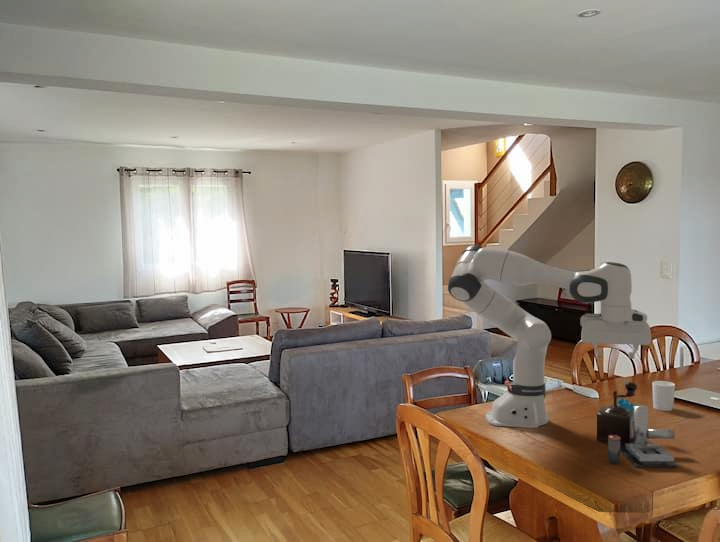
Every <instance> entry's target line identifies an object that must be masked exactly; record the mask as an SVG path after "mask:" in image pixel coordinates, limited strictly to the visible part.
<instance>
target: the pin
mask: <svg viewBox="0 0 720 542" xmlns="http://www.w3.org/2000/svg"><path fill="white" fill-rule="evenodd" d="M607 463H609V464H611V465H619V464H620V463H621V452H620V436H618V435H608V443H607Z"/></svg>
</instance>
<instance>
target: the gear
mask: <svg viewBox="0 0 720 542" xmlns="http://www.w3.org/2000/svg"><path fill="white" fill-rule="evenodd" d="M617 406H621V407H623V408H626V407H627V408H626V409H629V410H633V423H634V404H633V402H630V401H629V400H628V399H627V398H624V397H620V399H619V400H617Z"/></svg>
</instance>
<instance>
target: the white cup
mask: <svg viewBox="0 0 720 542" xmlns="http://www.w3.org/2000/svg"><path fill="white" fill-rule="evenodd" d="M651 384H652V387H651V388H652V403H653V405H652V408H653V409H654V410H657V411H661V412H662V411H663V412H671V411H673V409H674V402H675V393H676V392H675V390H676V384H675V383H674V382H672V381H666V380H654V381H652V382H651Z"/></svg>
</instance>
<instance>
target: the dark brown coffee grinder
mask: <svg viewBox="0 0 720 542" xmlns="http://www.w3.org/2000/svg"><path fill="white" fill-rule="evenodd" d="M624 388H625V389H626V393H625V394H617V393H618V391H617V390H613V391H612V397H613V405H609V406H604V405H603V406H600V409H599V410H598V412H597V413H596V442H599V443H600V442H601V443H604V444H605V443H606V444H608V435H618V436H620V445H625V444H633V426H634V422H633V410H629V409H626V408H627V407H626V408H623V407H621V406H618V400H617V398H627V397H629V398H631V397H635V396H636V394H635V392H636V390H637V389H638V385H637V383H635V382H631V381H630V382H629V381H627V382H626V383H625V384H624Z"/></svg>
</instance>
